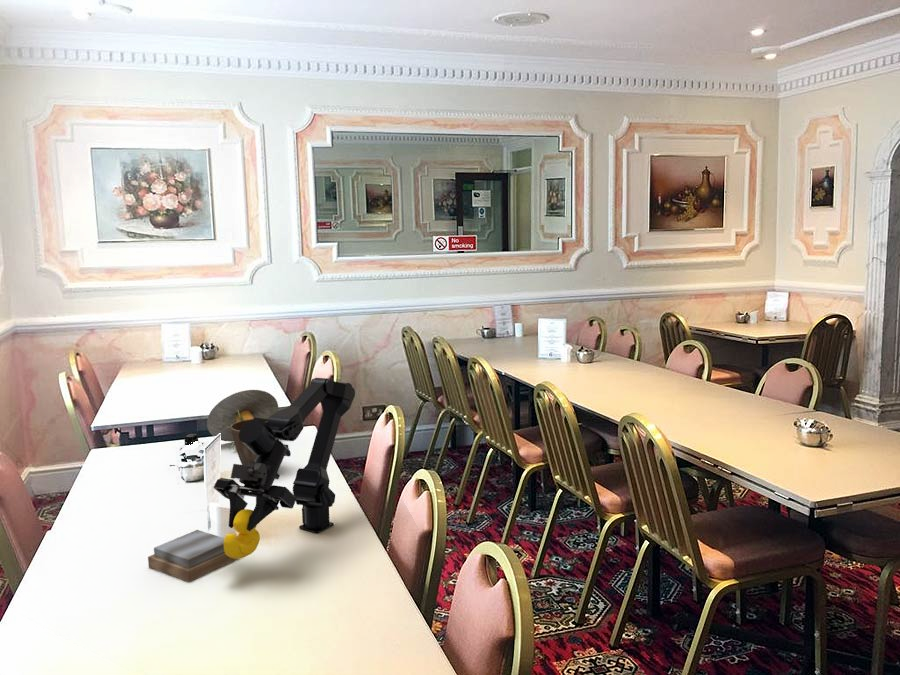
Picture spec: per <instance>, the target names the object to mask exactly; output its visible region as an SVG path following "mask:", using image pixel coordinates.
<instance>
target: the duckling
mask: <svg viewBox="0 0 900 675" xmlns="http://www.w3.org/2000/svg"><path fill="white" fill-rule="evenodd" d="M253 511H254V509H253V510H252V509H247V508H245V509H244V510H241V511H240V512H238V513H237V515H236V516H235V518H234V522H233V528H234V529H235V531H236V532H237V533H238V535H236V534H235V533H233V532H230V533H227V534H226V535H225V537H224V538H225V539H224V551H225V554H226V555H227V556H228V557H230V558H234V559H236V560H238V559H239V560H240V559H243V558H245V557H246V558H247V557H248V556H249V555H252V554H253V553H255V551H256V549H257V548H258V546H259V543H260V539H261V538H260V533H259V531H258V530H257V529H256V528H257V526H258V524H257V525H256V526H255V527H254V528H253V529H252V530H251V531H248V530H247V525H248V522H249V520H250V518H251V515H252V513H253Z"/></svg>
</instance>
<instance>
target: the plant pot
mask: <svg viewBox="0 0 900 675" xmlns="http://www.w3.org/2000/svg"><path fill="white" fill-rule="evenodd" d="M262 419H263V420H264V421H265V422H266V421H267V420H268V419H269V418H262ZM251 421H253V419H249V420H244V421H240V422H237V423H234V424H233V425H231V432H232V436H233V440H234V441H233V442H234V446H235V449H236V450H235V451H236V453H237V456H238V458H239V461H240V463H241V464H240V465H247V466H248V464H249V463H250V462H255V460H256V458H257V455H256V454H254V453H253V452H252V451H251V450H250V449H249V448H248V447H247V446H246V445H244V444H243V443H242V442H241V441H240V439H239V432H240V430H241V428H243V426H245V425H246V424H247V423H249V422H251ZM275 440H276V439H275Z"/></svg>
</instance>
